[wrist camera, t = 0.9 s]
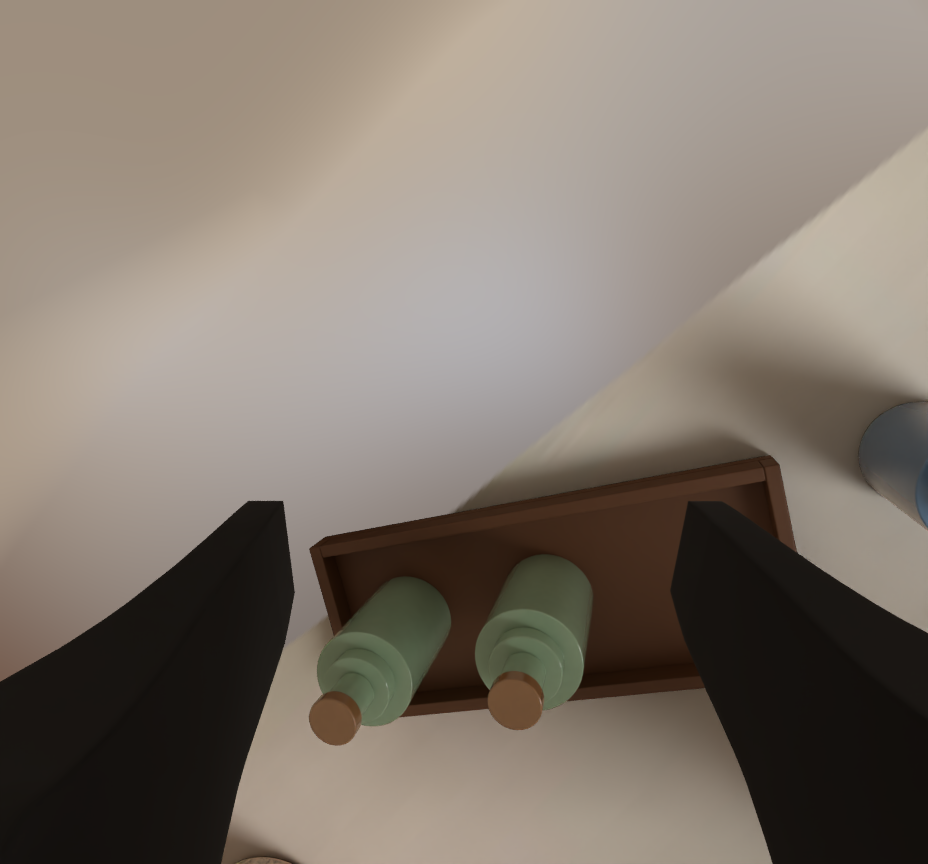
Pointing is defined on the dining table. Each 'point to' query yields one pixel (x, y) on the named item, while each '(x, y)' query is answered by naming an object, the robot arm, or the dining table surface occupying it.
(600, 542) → the tray
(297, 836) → the dining table surface
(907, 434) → the blue bottle
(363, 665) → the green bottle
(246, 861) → the cream enamel lidded pot
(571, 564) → the green bottle mid
